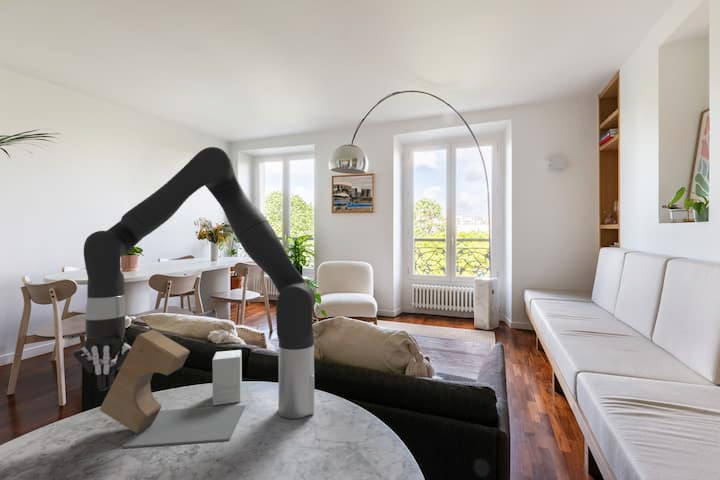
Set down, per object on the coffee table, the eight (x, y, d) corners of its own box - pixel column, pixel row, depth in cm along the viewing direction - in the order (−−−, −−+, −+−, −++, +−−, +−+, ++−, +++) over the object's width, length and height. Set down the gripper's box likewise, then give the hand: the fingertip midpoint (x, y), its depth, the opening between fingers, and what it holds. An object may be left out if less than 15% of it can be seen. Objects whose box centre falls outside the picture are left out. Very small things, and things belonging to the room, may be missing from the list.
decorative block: (154, 422, 81) (191, 350, 81) (136, 435, 76) (176, 358, 75) (117, 399, 83) (154, 328, 82) (97, 410, 77) (136, 333, 77)
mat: (244, 406, 90) (244, 405, 90) (229, 440, 74) (229, 438, 74) (158, 412, 88) (158, 410, 88) (122, 448, 72) (122, 446, 72)
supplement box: (242, 391, 100) (242, 349, 100) (240, 402, 93) (240, 356, 93) (215, 394, 98) (216, 351, 98) (211, 406, 91) (212, 359, 91)
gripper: (144, 311, 84) (143, 381, 83) (86, 313, 82) (85, 384, 82) (127, 317, 76) (126, 394, 76) (63, 319, 75) (62, 397, 74)
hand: (105, 388), depth 79 cm, fingers closed
